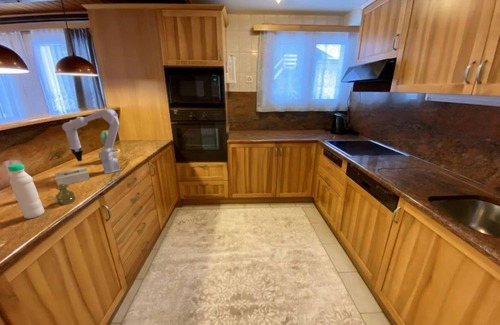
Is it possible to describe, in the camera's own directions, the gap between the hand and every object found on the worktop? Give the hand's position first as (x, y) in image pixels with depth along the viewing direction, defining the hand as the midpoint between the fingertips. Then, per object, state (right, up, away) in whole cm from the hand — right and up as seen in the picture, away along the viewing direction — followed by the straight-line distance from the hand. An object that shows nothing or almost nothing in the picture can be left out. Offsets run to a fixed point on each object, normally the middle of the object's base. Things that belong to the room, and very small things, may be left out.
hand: (79, 159), depth 147 cm
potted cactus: (+2, 0, +31) cm, 32 cm away
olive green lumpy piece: (+21, -23, -35) cm, 47 cm away
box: (+2, -13, -7) cm, 15 cm away
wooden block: (+2, -13, -7) cm, 15 cm away
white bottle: (+16, -27, -47) cm, 56 cm away
